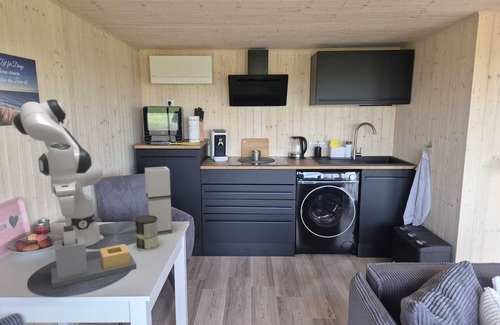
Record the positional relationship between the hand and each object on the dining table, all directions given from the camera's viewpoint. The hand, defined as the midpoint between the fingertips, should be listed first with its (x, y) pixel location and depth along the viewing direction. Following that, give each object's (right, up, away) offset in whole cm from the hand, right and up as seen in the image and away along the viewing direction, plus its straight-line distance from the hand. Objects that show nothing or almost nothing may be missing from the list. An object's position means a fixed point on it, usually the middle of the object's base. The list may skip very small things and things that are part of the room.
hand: (68, 221), depth 125 cm
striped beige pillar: (+21, -15, +52) cm, 58 cm away
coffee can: (+20, -18, +32) cm, 42 cm away
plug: (0, -12, +2) cm, 13 cm away
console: (+7, -22, +8) cm, 24 cm away
